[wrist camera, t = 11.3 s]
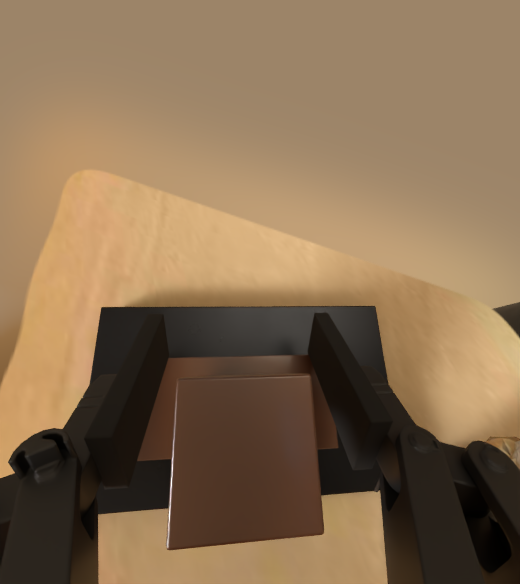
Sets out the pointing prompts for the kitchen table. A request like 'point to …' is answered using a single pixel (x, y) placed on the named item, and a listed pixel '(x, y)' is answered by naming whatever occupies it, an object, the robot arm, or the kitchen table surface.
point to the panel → (233, 342)
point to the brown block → (240, 448)
